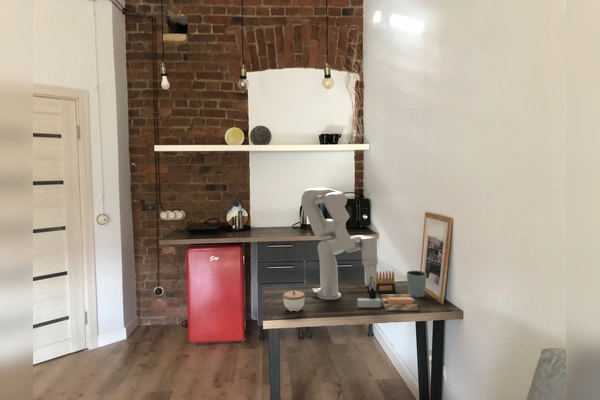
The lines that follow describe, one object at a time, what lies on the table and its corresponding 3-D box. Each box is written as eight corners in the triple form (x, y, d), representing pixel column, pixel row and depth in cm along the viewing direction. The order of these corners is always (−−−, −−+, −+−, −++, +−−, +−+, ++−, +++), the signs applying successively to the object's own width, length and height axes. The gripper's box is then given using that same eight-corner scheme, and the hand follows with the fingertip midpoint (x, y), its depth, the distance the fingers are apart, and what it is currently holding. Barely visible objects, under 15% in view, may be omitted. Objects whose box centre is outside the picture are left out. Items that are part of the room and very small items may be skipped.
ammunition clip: (394, 291, 211) (394, 270, 210) (395, 292, 209) (395, 271, 208) (375, 291, 211) (375, 270, 210) (376, 292, 209) (375, 271, 208)
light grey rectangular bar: (358, 307, 186) (358, 300, 186) (357, 305, 190) (357, 298, 190) (383, 307, 186) (382, 300, 185) (382, 305, 189) (381, 298, 189)
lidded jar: (307, 306, 190) (306, 288, 190) (302, 313, 180) (302, 294, 179) (286, 305, 193) (286, 287, 192) (281, 312, 182) (280, 293, 182)
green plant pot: (406, 291, 209) (405, 270, 208) (425, 292, 207) (425, 270, 206) (407, 297, 199) (407, 275, 198) (427, 298, 197) (427, 275, 196)
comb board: (385, 310, 182) (385, 305, 181) (381, 299, 198) (381, 294, 197) (417, 310, 180) (417, 305, 180) (410, 299, 196) (410, 294, 196)
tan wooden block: (389, 306, 183) (389, 299, 183) (388, 304, 187) (388, 297, 186) (415, 306, 182) (415, 299, 182) (413, 304, 185) (413, 297, 185)
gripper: (361, 258, 195) (362, 291, 196) (363, 265, 178) (365, 301, 178) (375, 257, 194) (377, 290, 195) (379, 264, 177) (381, 300, 178)
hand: (371, 295), depth 187 cm, fingers open, 9 cm apart
